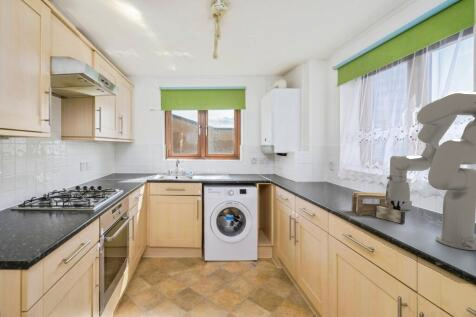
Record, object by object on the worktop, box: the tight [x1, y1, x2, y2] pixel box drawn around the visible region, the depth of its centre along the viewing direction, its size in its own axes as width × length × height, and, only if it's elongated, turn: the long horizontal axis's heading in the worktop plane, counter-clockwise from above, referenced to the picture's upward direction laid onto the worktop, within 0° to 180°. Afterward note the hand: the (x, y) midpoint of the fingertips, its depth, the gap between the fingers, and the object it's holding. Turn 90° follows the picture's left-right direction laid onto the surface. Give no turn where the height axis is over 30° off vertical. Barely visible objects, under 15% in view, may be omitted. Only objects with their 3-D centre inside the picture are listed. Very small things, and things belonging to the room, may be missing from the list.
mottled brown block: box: [374, 206, 406, 225], centre depth 122 cm, size 14×2×6 cm, turn 32°
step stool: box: [351, 191, 393, 217], centre depth 134 cm, size 10×18×12 cm, turn 84°
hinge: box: [385, 199, 413, 211], centre depth 146 cm, size 17×5×10 cm, turn 79°
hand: (396, 213), depth 122 cm, fingers closed
